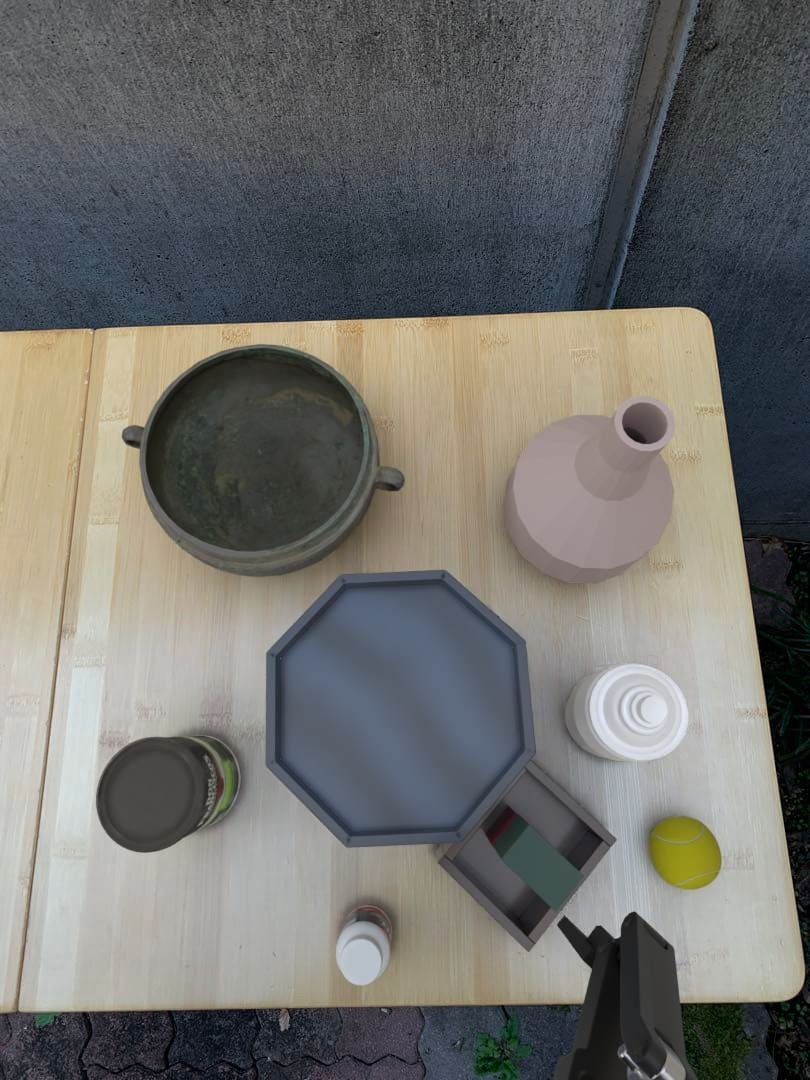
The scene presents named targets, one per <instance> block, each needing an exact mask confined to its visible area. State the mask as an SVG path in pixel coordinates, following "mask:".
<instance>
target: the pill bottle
mask: <svg viewBox="0 0 810 1080" xmlns="http://www.w3.org/2000/svg"><path fill="white" fill-rule="evenodd" d="M392 940H393V927H392V922H391V920H390V918H389V917H388V914H386V913H385V912H384V910H383V909H381V908H379V907H377V906H375V905H368V904H365V905H360V906H358V907H356V908H354V909H353V910H352V911H350V913H349V914H348V915H347V917H346V918H345V920H344V923H343V925H342V928H341V931H340V934H339V936H338V939H337V942H336V945H335V959H336V960H335V961H336V964H337V966H338V968H339V970H340V972H341V973H342V975H343V977H344V978H345V979H346V980H347V981H348V982H349V983H350V984H352V985H355V986H359V987H360V986H366V985H369V984H371V983H372V982H374V981H376V980H377V979H379V978H380V977H381V976H382V975H383V974H384V972H385V971H386V969H387V967H388V965H389V962H390V959H391V952H392V951H391V948H392Z"/></svg>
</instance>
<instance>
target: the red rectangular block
mask: <svg viewBox="0 0 810 1080" xmlns="http://www.w3.org/2000/svg"><path fill="white" fill-rule="evenodd" d="M517 815H518V814H517V813H516V812H515V811H514V810H512V809H511V808H510V807H509V806H508V807H507V808H506V809H505V810H504V812H503V813H502V814H501V815H500V816H499V818H498V819H497V820H496V821H495V822H494V824H493V825H492V826H491V827H490V829H489V830H488V831H487V832H486V833H485V835H486V836H487V838H488V840H489V842H490V843H491V845H492V846H493V844H494V843H495V841H496V840H497V839H498V838H499V837H500V835H501V834H502V833H503V832H504V831H505V829H506V828H507V827H508V826H509V824H510V823H511V822H512V821H513V820H514V818H515V817H516V816H517Z"/></svg>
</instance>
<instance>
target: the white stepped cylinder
mask: <svg viewBox="0 0 810 1080" xmlns="http://www.w3.org/2000/svg"><path fill="white" fill-rule="evenodd" d="M564 721H565V725H566V729H567V731H568V733H569V735H570V737H571V738H572V740H573V741H574V742H575V743H576V744H577V745H578V746H579V747H580V748H581V749H582V750H584V751H585V752H587V753H589V754H591V755H593V756H596V757H599V758H602V759H603V758H604V759H608V760H611V761H615V762H625V763H648V762H654V761H657V760H659V759H662V758H664V757H665V756H668V754H670V753H672V752H673V751H675V749H676V748H677V747H678V746H679V745H680V744H681V743H682V741H683V740H684V738H685V736H686V733H687V731H688V727H689V707H688V703H687V700H686V697H685V695H684V693H683V692H682V690H681V688H680V687H679V686H678V684H677V683H676V682H675V681H674V680H673V678H671V677H670V676H669V675H667V674H666V673H664V671H661V670H659V669H657V668H656V667H654V666H653V667H652V666H651V665H648V664H644V663H641V662H632V661H631V662H621V663H616V664H613V665H610V666H607V667H604V668H601V669H598V670H596V671H594V672H592V673H590V674H587V675H586V676H583V677H582V678H581V679H580V680H578V682H577V683H576V684H575V685H574V686H573V689H572V691H571V693H570V695H569V698H568V700H567V702H566V706H565V709H564Z"/></svg>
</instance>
